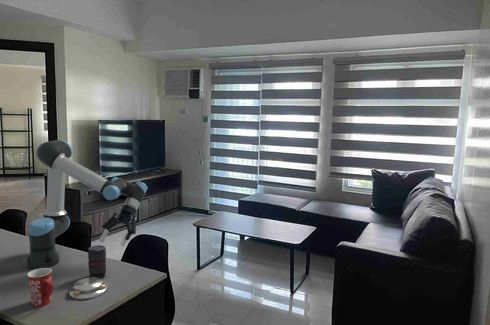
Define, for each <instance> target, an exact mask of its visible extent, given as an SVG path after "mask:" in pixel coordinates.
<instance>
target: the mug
mask: <svg viewBox="0 0 490 325" xmlns="http://www.w3.org/2000/svg"><path fill="white" fill-rule="evenodd" d="M52 272H53V270H52V269H51V268H50V267H48V268H40V269H32V270H31V271H29V272H28V273H27V279H28V285H29V294H30V300H31V306H33V307H43V306H46V305H48V304H50V302H51V301H52V293H53V288H54V285H53V281H52Z"/></svg>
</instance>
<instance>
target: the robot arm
mask: <svg viewBox="0 0 490 325" xmlns="http://www.w3.org/2000/svg"><path fill="white" fill-rule="evenodd" d="M72 155H73V148H72V146H71V145H70V143H69V142H67V141H66V140H62V139H61V140H60V139H56V140H51V141H44V142H43V143H41V144H39V146H38V147H37V149H36V158H37V160H39V161H40V163H41V164H43V165H44V166H46V167H47V184H46V185H47V190H46V192H47V193H46V194H47V195H46V210H45V211H43V217H40V218H37V219H34V220H33V221H31V222H30V223H29V224H28V239H29V242H28V243H29V253H28V257H27V260H26V267H27V268H28V269H30V270H36V269H40V268H51V267H54V266H56V265H58V264H59V263H60V255H59V254H58V251H57V249H56V238H57V237H59V236H60V235H62V234H64V233H65V232H66V231H68V229H69V226H70V223H71V220H70V217H69V216H68V212H67V211H66V210H65V194H66V192H65V189H66V188H65V186H66V175H67V176H69V177H71V178H73V179H74V180H76V181H78V182H80V183H81V184H83V185H86V186H88V187H89V188H91V189H92V190H95V191H97V192H98V193H100V194H102V196H103V198H105V199H106V200H107V201H113V200H116V199H118V198H119V197H120V196H121V195H123V196H125V197H127V198H126V200H125V201H124V203H123V205H122V207H121V209H120V213H119V214H118V213H117V212H114V213H113V215H112V216H111V217H110V218H109V219H108V220H107V221H106V222H104V223H103V224H102V226H101V228H103V230H102V232H101V236H100V238H99V239H98V240H99V242H101V243H104V241H105V240H106V238H107V236H108V234H109V231H110V230H111V229H112V228H114V227H116V226H117V225H120V224H124V225H126V232H125V234H124V236H123V238H122V240H121V241H120V245H121V246H122V247H126V246H125V245H126V243H127V242H128V241H129V240H130V238H131V236H132V235H136V232H137V231H136V230H137V220H138V218H137V217H136V215H135V214H136V213H137V210H138V208H139V206H141V205H140V204H141V203H142V201H143V199H144V197H145V195H146V193H147V190H148V186H147V185H146V183H144V182H142V181H136V182H134V183H132V182H129V181H126V180H124V179H122V178H121V177H120V178H119V177H116V176H115V177H112V178H111V180H110V179H107V178H105V177H103V176H102V175H100V174H98V173H96V172H95V171H93V170H90V169H89V168H87V167H85V166H84V165H81V163H78V162H76V161H74V160H72V159H70V158H71V157H72ZM130 221H131V222H130Z"/></svg>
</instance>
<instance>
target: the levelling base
mask: <svg viewBox="0 0 490 325" xmlns="http://www.w3.org/2000/svg"><path fill="white" fill-rule="evenodd" d="M107 291H108V283H107V282H106V281H104V279H103V278H101V279H100V278H96V277H85V278H81V279H79V280H78V281H76V282H75V283H74V284H73V286H71V287H70V288H69V290H68V294H69V297H70V298H71V299H74V300H76V301H77V300H79V301H87V300H90V299H91V300H92V299H95V298H98V297H101V296H102V295H104V294H105V293H106V292H107Z"/></svg>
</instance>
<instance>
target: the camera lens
mask: <svg viewBox="0 0 490 325" xmlns="http://www.w3.org/2000/svg"><path fill="white" fill-rule="evenodd" d="M87 255H88V256H87V257H88V262H87V266H88V274H89V275H88V276H90V277H96V278H100V279H104V277H106V274H107V272H106V271H107V265H106V264H107V262H106V261H107V260H106V258H107V249H106V246H104V245H99V244H97V245H93V246H90V247H88V250H87ZM90 277H89V278H90Z"/></svg>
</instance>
